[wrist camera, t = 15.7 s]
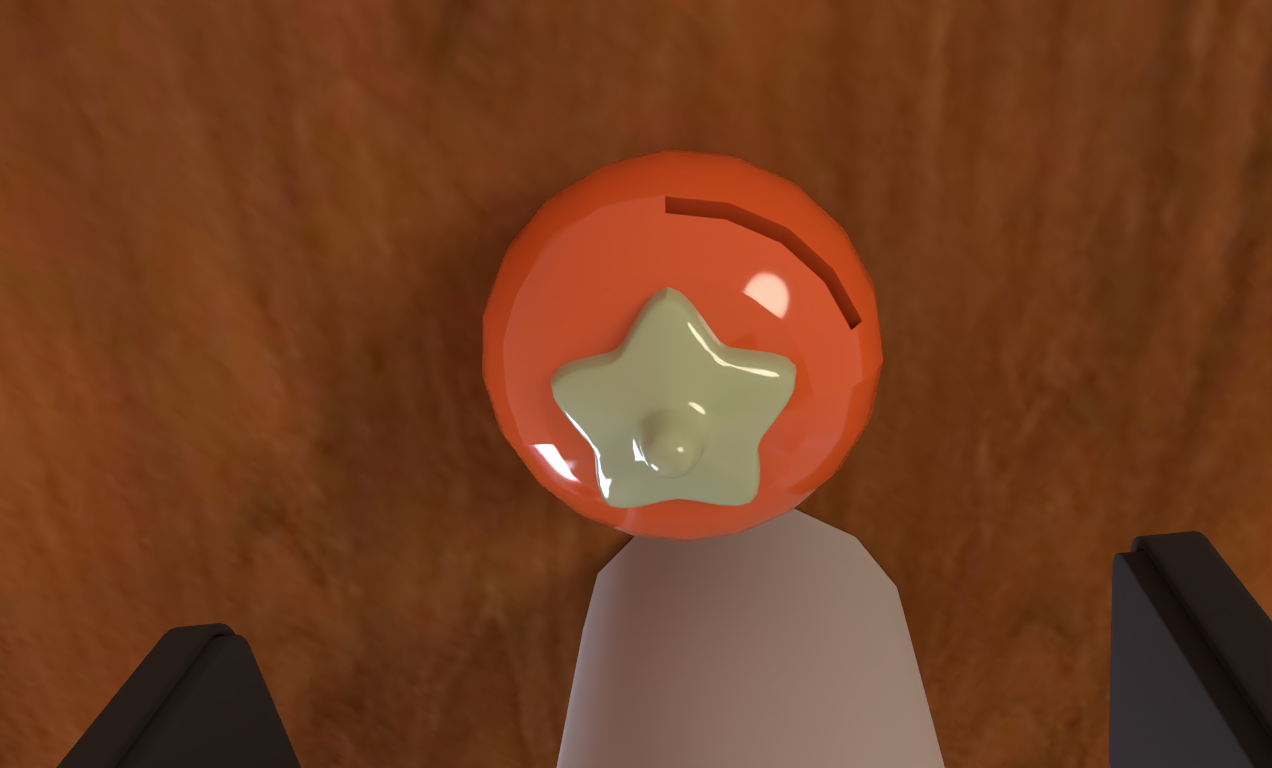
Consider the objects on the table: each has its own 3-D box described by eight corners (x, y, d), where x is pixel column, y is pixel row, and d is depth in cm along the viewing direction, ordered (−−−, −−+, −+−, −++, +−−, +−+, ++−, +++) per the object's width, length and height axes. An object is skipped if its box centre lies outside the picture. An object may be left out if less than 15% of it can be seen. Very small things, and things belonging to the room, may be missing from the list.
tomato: (927, 235, 21) (1037, 403, 14) (731, 483, 24) (736, 728, 17) (631, 40, 20) (580, 110, 12) (463, 327, 23) (343, 518, 15)
